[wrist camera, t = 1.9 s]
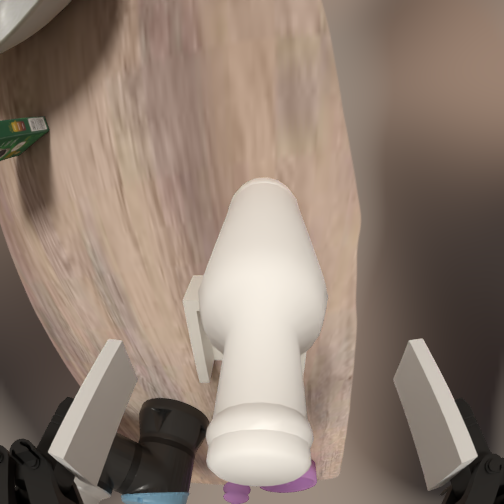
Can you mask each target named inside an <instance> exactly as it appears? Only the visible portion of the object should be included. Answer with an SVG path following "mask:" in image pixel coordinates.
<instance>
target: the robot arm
mask: <svg viewBox="0 0 504 504" xmlns="http://www.w3.org/2000/svg"><path fill="white" fill-rule="evenodd" d="M137 380H138V378H137V376H136V374H135V371H134V369H133V366H132V364H131V362H130V359H129V357H128V354H127V352H126V349H125V347H124V344H123V341H122V340H114V339H108V341H107V342H106V344H105V346H104V347H103V349H102V351H101V353H100V354H99V356H98V358H97V359H96V361H95V363H94V365H93V366H92V368H91V370H90V372H89V373H88V375H87V377H86V379H85V380H84V382H83V384H82V386H81V388H80V389H79V391H78V393H77V395H76V397H75V399H73V398H70V397H67V398H66V399H65V400H64V401H63V402H62V403H60V405H59V406H58V409H57V410H56V412H55V415H54V416H53V418H52V420H51V422H50V423H49V425H48V427H47V429H46V431H45V433H44V435H43V437H42V439H41V441H40V443H39V445H38V446H37V448H35V446H33V444H32V443H31V442H30V441H29V440H26V439H19V440H17V441H15V442H14V443H13V444H12V445H11V448H10V452H9V451H8V450H7V449H6V448H4V447H3V446H1V445H0V504H99V501H101V500H103V499H106V498H109V497H110V496H111V493H112V490H114V491H117V492H119V493H121V494H122V495H121V498H122V501H123V502H124V503H126V504H186V502H187V498H188V495H189V488H190V482H191V476H192V470H193V464H194V458H195V453H196V452H197V450H198V448H199V447H200V445H201V444H202V442H203V440H204V439H205V437H206V431H207V427H208V426H209V422H208V419H207V418H206V417H205V415H204V414H203V413H201V412H200V411H199V410H197V409H196V408H194V407H192V406H190V405H187V404H185V403H182V402H179V401H175V400H171V399H163V398H157V399H150V400H148V401H146V402H144V403H143V405H142V407H141V410H140V413H139V423H140V440H139V443H136V442H134V441H133V440H131V439H129V438H127V437H125V436H123V435H121V434H119V433H117V429H118V427H119V424H120V422H121V419H122V417H123V414H124V412H125V409H126V407H127V404H128V402H129V399H130V397H131V394H132V392H133V389H134V387H135V385H136V382H137ZM393 381H394V383H395V386H396V389H397V392H398V394H399V397H400V400H401V403H402V406H403V408H404V411H405V414H406V417H407V420H408V423H409V426H410V430H411V433H412V436H413V439H414V442H415V446H416V449H417V452H418V456H419V459H420V463H421V466H422V470H423V473H424V477H425V481H426V484H427V489H428V491H429V490H432V489H435V488H438V487H440V486H443V485H444V484H446V483H447V482H448V481H451V485H450V486H449V487H447V488H446V489H445V490H443V492H442V493H441V495H443V494H445V493H446V492H447V493H446V495H445V498H444V500H443V502H442V504H504V458H501V457H500V456H498V455H497V454H492V453H491V452H490V450H489V448H488V446H487V443H486V441H485V438H484V436H483V434H482V431H481V429H480V427H479V425H478V424H477V420H476V418H475V417H474V414H473V412H472V409H471V407H470V406H469V404H468V403H467V402H466V401H465V400H464V399H463V398H459V399H456V400H454V399H453V397H452V394H451V392H450V390H449V388H448V386H447V384H446V382H445V380H444V378H443V376H442V374H441V372H440V370H439V368H438V366H437V365H436V363H435V361H434V359H433V357H432V355H431V353H430V351H429V349H428V348H427V346H426V344H425V342H424V340H423V339H415V340H409V341H408V344H407V347H406V349H405V352H404V354H403V357H402V359H401V362H400V364H399V367H398V370H397V372H396V374H395V376H394V379H393ZM15 486H16V487H15Z"/></svg>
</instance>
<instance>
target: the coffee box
mask: <svg viewBox="0 0 504 504" xmlns="http://www.w3.org/2000/svg"><path fill="white" fill-rule="evenodd" d="M48 131H49V128H48V125H47V122H46V119H45V116H40V117H29V118H19V119H11V120H3V121H0V161H1V160H5V159H8V158H11V157H15V156H18V155H20V154H21V153H22V152H24V151H25V150H26V149H27V148H28V147H29V146H30V145H32V144H33V143H34V142H35V141H37V140H38V139H39V138H40V137H42V136H43V135H44V134H45V133H47V132H48Z"/></svg>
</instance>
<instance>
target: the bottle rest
mask: <svg viewBox="0 0 504 504" xmlns="http://www.w3.org/2000/svg"><path fill="white" fill-rule="evenodd" d="M203 276H204V275H193V277H192V279H191V282H190V284H189V286H188V289H187V291H186V293H185V296H184V298H183V305H184V311H185V316H186V321H187V326H188V331H189V336H190V341H191V346H192V350H193V355H194V360H195V364H196V368H197V373H198V377H199V381H200V383H210V379H211V374H212V369H213V364H214V360H222V359H223V354H222V353H221V352H220V351H218V350H217V349H216V348H215V347H214V346H213V345H212V344H211V342H210V340H209V338H208V337H207V335H206V333H205V331H204V328H203V324H202V321H201V316H200V310H199V297H198V290H199V287H200V284H201V282H202V279H203ZM306 352H307V351H306ZM306 352H305V353H303V354H302V355H301V365H302V373H303V375H304V367H305V360H306Z"/></svg>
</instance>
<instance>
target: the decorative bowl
mask: <svg viewBox="0 0 504 504" xmlns="http://www.w3.org/2000/svg"><path fill="white" fill-rule="evenodd" d="M71 1H72V0H0V53H3V52H5V51H7V50H9V49H11V48H13V47H14V46H16V45H18V44H20V43H21V42H23V41H24V40H26V39H28V38H29V37H31V36H32V35H33V34H35V33H36V32H38V31H39V30H40V29H41V28H43V27H44V26H45V25H46V24H48V23H49V22H50V21H51V20H52V19H53V18H54V17H55V16H56V15H57V14H58V13H59V12H60V11H62V10H63V9H64V8H65V7H66V6H67V5H68V4H69V3H70V2H71Z"/></svg>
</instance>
